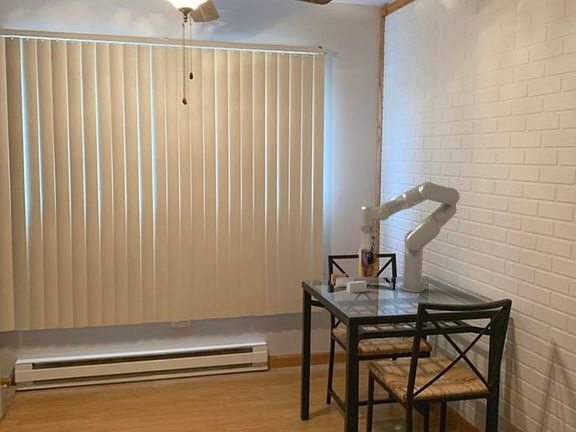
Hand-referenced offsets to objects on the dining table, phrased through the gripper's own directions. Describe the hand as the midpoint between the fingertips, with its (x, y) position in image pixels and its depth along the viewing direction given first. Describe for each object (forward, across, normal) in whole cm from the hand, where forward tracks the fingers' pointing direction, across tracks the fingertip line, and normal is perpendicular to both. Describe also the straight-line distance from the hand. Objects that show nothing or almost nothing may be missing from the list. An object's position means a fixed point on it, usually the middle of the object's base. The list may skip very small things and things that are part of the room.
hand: (367, 262), depth 324 cm
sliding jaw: (+11, +3, +14) cm, 18 cm away
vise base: (+13, -2, +14) cm, 19 cm away
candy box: (+8, 0, 0) cm, 8 cm away
